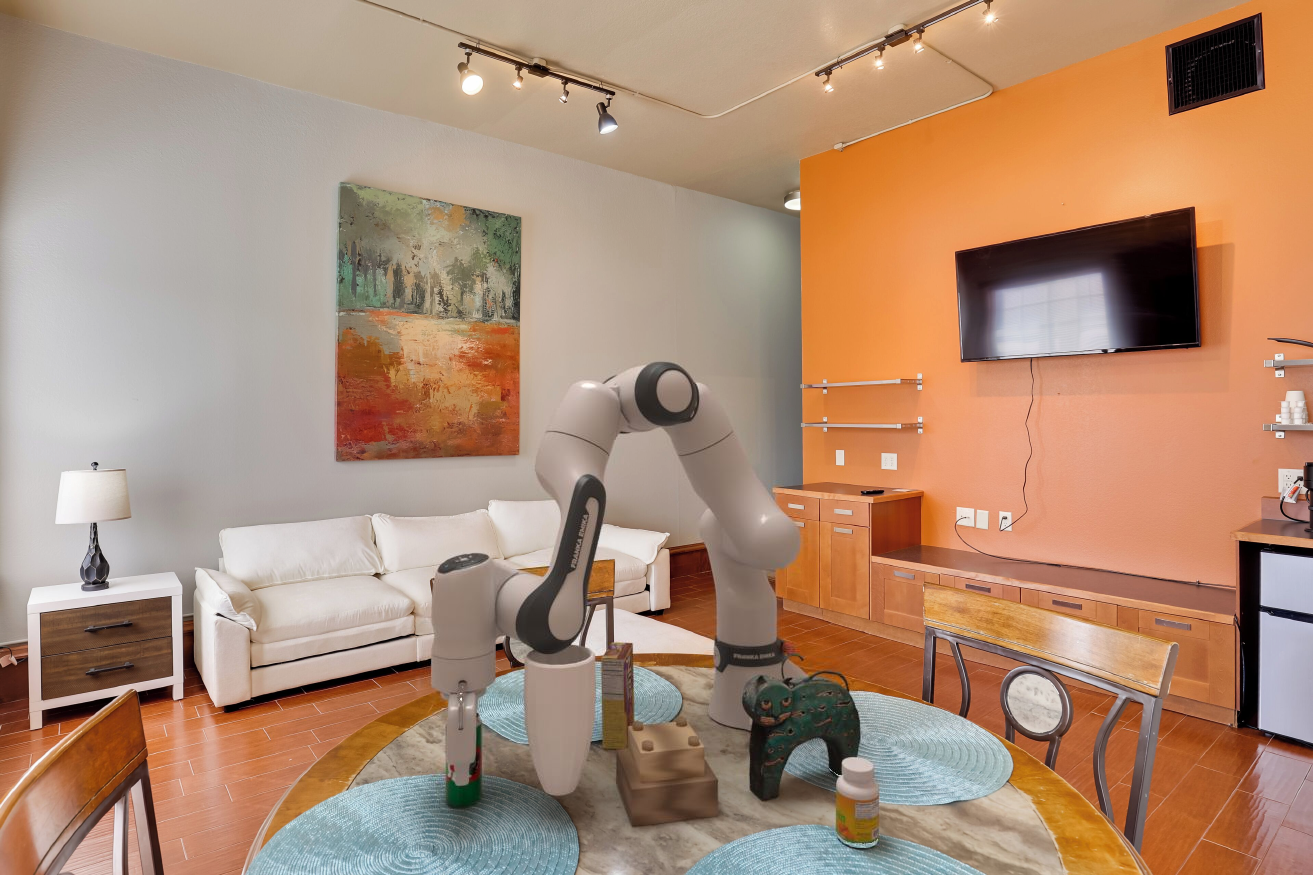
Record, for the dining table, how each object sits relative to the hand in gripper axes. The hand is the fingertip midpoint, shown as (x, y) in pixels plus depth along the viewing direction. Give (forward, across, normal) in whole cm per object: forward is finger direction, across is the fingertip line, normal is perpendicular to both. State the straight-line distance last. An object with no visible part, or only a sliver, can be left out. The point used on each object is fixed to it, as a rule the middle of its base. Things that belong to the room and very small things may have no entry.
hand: (463, 766), depth 101 cm
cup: (+5, -5, -13) cm, 15 cm away
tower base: (+5, -6, -28) cm, 29 cm away
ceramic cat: (+5, -6, -49) cm, 50 cm away
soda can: (+5, 0, 0) cm, 5 cm away
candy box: (+5, +15, -25) cm, 30 cm away
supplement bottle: (+5, -21, -50) cm, 55 cm away
